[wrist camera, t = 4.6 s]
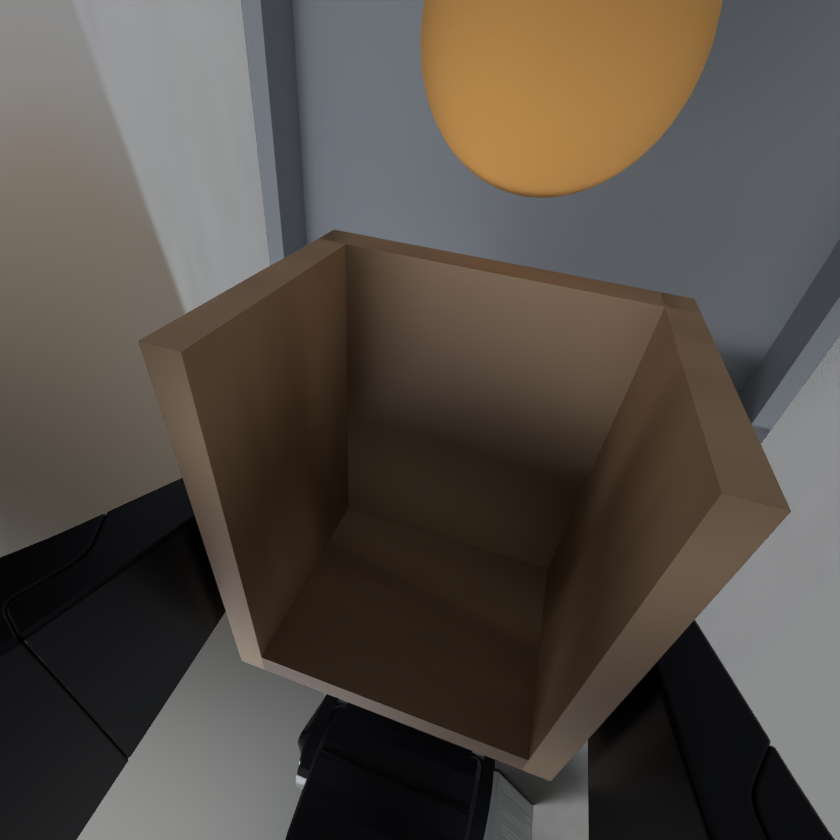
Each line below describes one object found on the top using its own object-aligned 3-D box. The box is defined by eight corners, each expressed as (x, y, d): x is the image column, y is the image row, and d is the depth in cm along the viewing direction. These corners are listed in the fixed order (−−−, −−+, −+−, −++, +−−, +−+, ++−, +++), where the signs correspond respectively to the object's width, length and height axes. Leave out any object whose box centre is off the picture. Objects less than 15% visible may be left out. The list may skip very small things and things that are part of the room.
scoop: (564, 567, 11) (550, 781, 8) (340, 498, 12) (241, 660, 9) (694, 299, 7) (790, 511, 4) (333, 229, 8) (138, 340, 5)
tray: (742, 402, 17) (761, 443, 15) (307, 304, 20) (276, 327, 18) (1194, -294, 8) (1384, -412, 6) (270, -273, 11) (202, -347, 9)
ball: (862, -342, 4) (699, 21, 8) (435, -310, 5) (476, 3, 9) (721, 122, 4) (630, 252, 8) (347, 78, 5) (423, 214, 9)
